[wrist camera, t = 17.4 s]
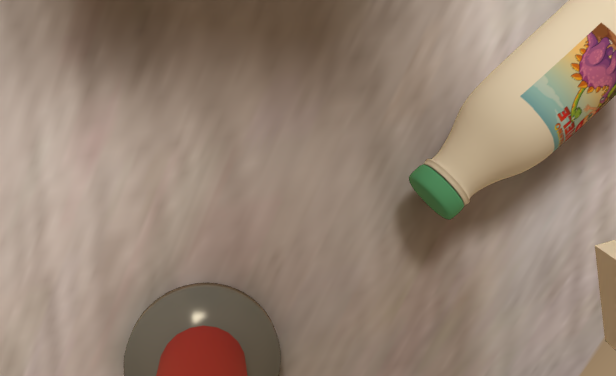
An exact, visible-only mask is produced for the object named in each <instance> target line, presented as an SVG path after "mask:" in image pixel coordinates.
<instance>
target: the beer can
mask: <svg viewBox="0 0 616 376" xmlns="http://www.w3.org/2000/svg"><path fill="white" fill-rule="evenodd" d="M156 376H247V369H246V362H245V355H244V352H243V350H242V348H241V346H240V344H239V342H238V341H237V340H236V339H235V338H234V337H233V336H232V335H231V334H230V333H228V332H226V331H224V330H222V329H219V328H217V327H211V326H198V327H193V328H189V329H187V330H185V331H183V332H181V333H179V334H177V335H176V336H175V337H174V338H173V339H172V340H171V341H170V342H169V343H168V344H167V345H166V347H165V349H164V351H163V353H162V355H161V357H160V362H159V366H158V370H157V375H156Z"/></svg>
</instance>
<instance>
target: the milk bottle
mask: <svg viewBox="0 0 616 376" xmlns="http://www.w3.org/2000/svg"><path fill="white" fill-rule="evenodd" d="M615 95H616V0H569V1H568V2H567V3H566V4H564V5H563V6H562V7H561V8H560V9H559V10H558V11H557V12H556V13H555V14H554V15H553V16H551V17H550V18H549V19H548V20H547V21H546V22H545V23H544V24H543V25H542V26H541V27H540V28H538V29H537V30H536V31H535V32H534V33H533V34H532V35H531V36H530V37H529V38H528V39H527V40H525V41H524V42H523V43H522V44H521V45H520V46H519V47H518V48H517V49H516V50H515V51H514V52H513V53H512V54H511V55H509V56H508V57H507V58H506V59H505V60H504V61H503V62H502V63H501V64H500V65H499V66H498V67H497V68H496V69H495V70H494V71H492V72H491V73H490V74H489V75H488V76H487V77H486V78H485V79H484V80H483V81H482V82H481V83H480V84H479V85H478V86H477V87H476V88H475V90H474V91H473V92H472V93H471V94H470V96H469V97H468V98H467V100H466V101H465V102H464V104H463V105H462V107H461V109H460V111H459V113H458V115H457V117H456V120H455V122H454V125H453V127H452V129H451V132H450V134H449V136H448V138H447V140H446V141H445V143H444V145H443V146H442V148H441V149H440V151H439V152H438V153H437V155H436V156H435V157H433V158H432V159H427V160H426V162H425V163H424V164H423V165H421V166H419V167H418V168H417V169H416V170H415V171H414V172H413V173H412V174H411V175H410V177H409V181H410V183H411V185H412V187H413V188H414V190H415V191H416V192H417V194H418V195H419V196H420V197H421V198H422V199H423V200H424V201H425V202H426V203H427V205H429V206H430V207H431V208H432V209H433V210H434V211H435V212H436V213H438V214H439V215H440V216H442V217H444V218H445V219H451V218H453V217H454V216H456V215H457V214H458V213H459V212H460V211H461V210H462V209H463V207H464V206H465V205H466V204H468V203H469V202H470V197H471V196H472V195H473V194H475V193H476V192H477V191H479V190H481V189H482V188H484V187H486V186H488V185H490V184H492V183H495V182H497V181H500V180H503V179H506V178H509V177H512V176H515V175H517V174H520V173H522V172H524V171H527V170H529V169H530V168H532V167H534V166H536V165H537V164H539V163H540V162H541V161H543V160H544V159H546V158H547V157H548V156H549V155H550V154H551V153H553V152H554V151H555V150H556V149H557V148H558V147H560V146H561V145H562V144H563V143H564V142H565V141H566V140H567V139H569V138H570V137H571V136H572V135H573V134H574V133H575V132H576V131H577V130H578V129H579V128H581V127H582V126H583V125H584V124H585V123H586V122H587V121H588V120H589V119H590V118H591V117H593V116H594V115H595V114H596V113H597V112H598V111H599V110H600V109H601V108H602V107H603V106H604V105H605V104H607V103H608V102H609V101H610V100H611V99H612V98H613V97H614V96H615Z"/></svg>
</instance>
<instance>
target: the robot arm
mask: <svg viewBox="0 0 616 376" xmlns="http://www.w3.org/2000/svg"><path fill="white" fill-rule="evenodd" d="M595 252H596V261H597V270H598V279H599V288H600V298H601V307H602V316H603V325H604V335H605V341H606V342H607V343H608V344H609V345H610V346H611V347H612V348H613V349H615V350H616V240H613V241H610V242H606V243H602V244H599V245H595Z"/></svg>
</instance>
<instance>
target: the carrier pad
mask: <svg viewBox="0 0 616 376" xmlns="http://www.w3.org/2000/svg"><path fill="white" fill-rule="evenodd" d="M198 326H211V327H217V328H219V329H222V330H224V331H226V332H228V333H230V334H231V335H232V336H233V337H234V338H235V339H236V340H237V341H238V342H239V344H240V346H241V348H242V350H243V352H244V355H245V362H246V369H247V376H279V372H280V363H281V356H280V347H279V342H278V338H277V335H276V332H275V329H274V326H273V324H272V322H271V320H270V318H269V316H268V315H267V313H266V312H265V310H264V309H263V308H262V307H261V306H260V305H259V304H258V303H257V302H256V301H255V300H254V299H253V298H251V297H250V296H248V295H247V294H245V293H244V292H242V291H240V290H238V289H235V288H233V287H230V286H226V285H222V284H217V283H195V284H190V285H185V286H182V287H179V288H176V289H174V290H172V291H170V292H168V293H166V294H164V295H163V296H161V297H160V298H158V299H157V300H156V301H154V302H153V303H152V304H151V305H150V306H149V307H148V308H147V309H146V310H145V311H144V312H143V314H142V315H141V316H140V318H139V319H138V321H137V323H136V324H135V326H134V328H133V330H132V333H131V335H130V338H129V341H128V343H127V346H126V351H125V355H124V376H156V375H157V370H158V366H159V362H160V357H161V355H162V353H163V351H164V349H165V347H166V345H167V344H168V343H169V342H170V341H171V340H172V339H173V338H174V337H175V336H176V335H177V334H179V333H181V332H183V331H185V330H187V329H189V328H193V327H198Z"/></svg>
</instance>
